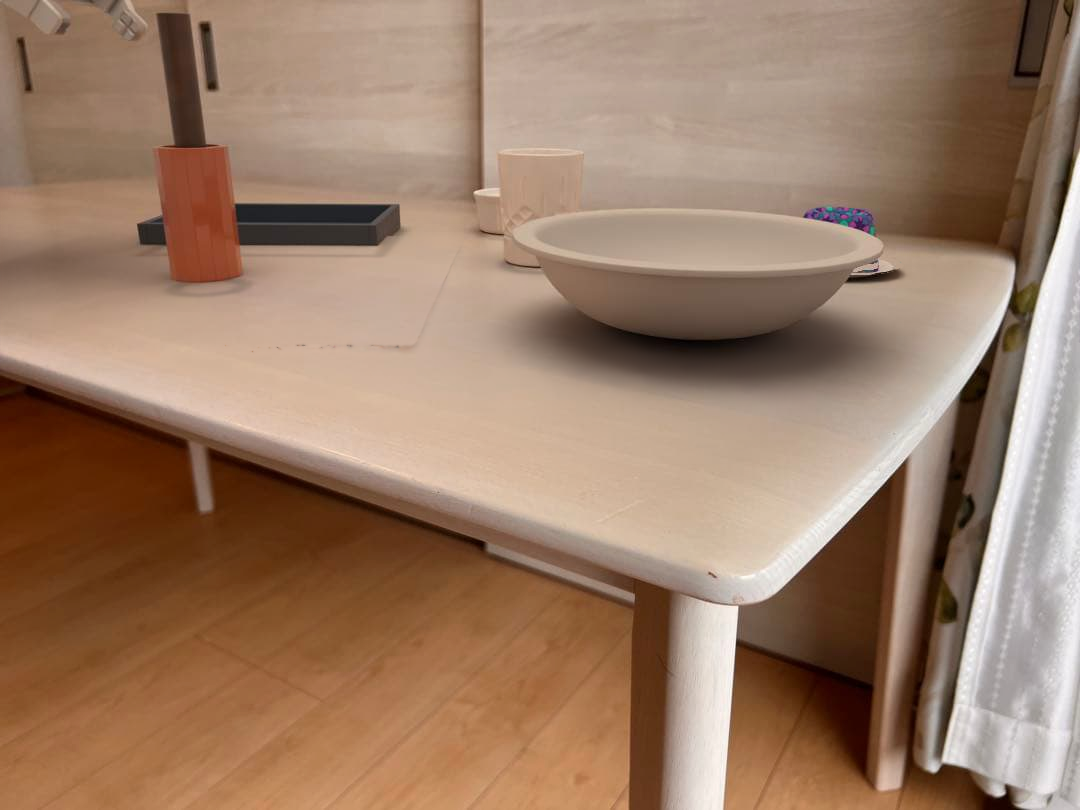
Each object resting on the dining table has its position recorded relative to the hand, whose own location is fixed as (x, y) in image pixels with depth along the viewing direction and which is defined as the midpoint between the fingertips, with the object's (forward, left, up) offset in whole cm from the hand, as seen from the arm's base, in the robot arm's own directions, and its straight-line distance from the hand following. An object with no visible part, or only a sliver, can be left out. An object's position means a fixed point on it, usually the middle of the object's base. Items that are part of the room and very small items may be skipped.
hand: (103, 32), depth 66 cm
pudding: (+61, +7, -19) cm, 64 cm away
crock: (+6, 0, -19) cm, 20 cm away
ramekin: (+31, +28, -19) cm, 46 cm away
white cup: (+34, +10, -19) cm, 40 cm away
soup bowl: (+44, -14, -19) cm, 50 cm away
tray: (+6, +22, -19) cm, 30 cm away
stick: (+6, 0, -19) cm, 20 cm away
